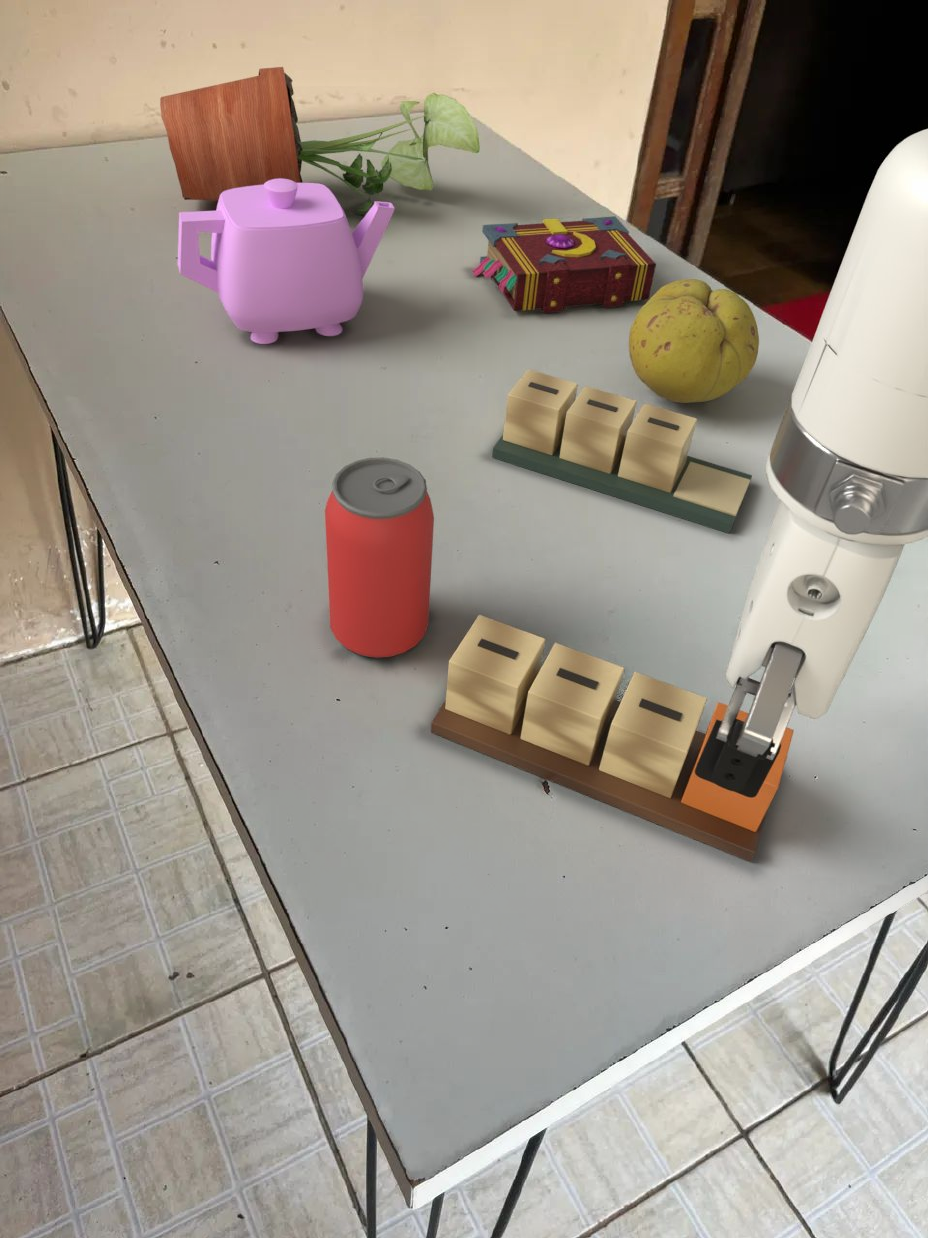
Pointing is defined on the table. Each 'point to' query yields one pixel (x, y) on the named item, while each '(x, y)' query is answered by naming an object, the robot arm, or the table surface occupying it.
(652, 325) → the fruit
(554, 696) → the slotted cubes on board
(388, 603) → the beer can
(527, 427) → the slotted cube rack
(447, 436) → the table surface
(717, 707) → the orange slotted cube
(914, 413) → the robot arm
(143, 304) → the table surface
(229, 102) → the potted plant
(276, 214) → the teapot
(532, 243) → the decorative book
